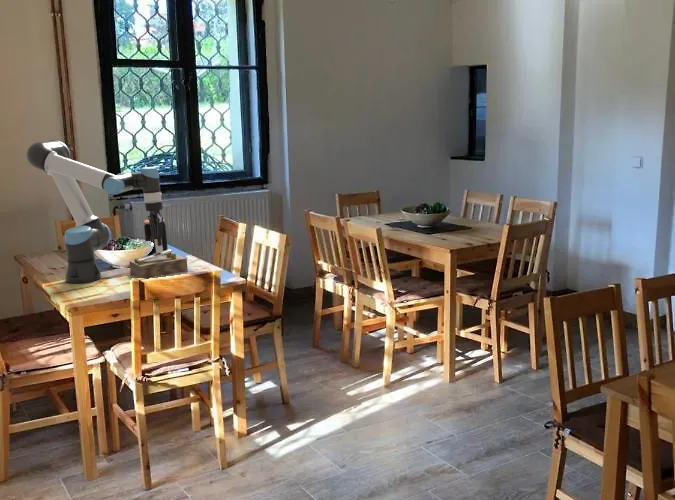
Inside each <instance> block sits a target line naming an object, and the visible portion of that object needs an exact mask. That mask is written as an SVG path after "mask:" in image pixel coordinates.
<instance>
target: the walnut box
mask: <svg viewBox="0 0 675 500" xmlns="http://www.w3.org/2000/svg"><path fill="white" fill-rule="evenodd" d="M137 259H140V258H139V257H138V258H134V259H132V260H129V269H130V270H129V271H130V275H132V276H135V277H136V278H138V277H140V278H147V279H151V278H150V277H152V278H156V277H155V276H158V277H162V276H161V275H163V276H167V275H174V274H179V273H185V272H188V259H187V258H186V257H184V256H182V255H179V254H177V253H175V252H174V253H173V252H170V253H168V254H167V255H163V256H159V257H156V258H153V259H150V260H147V261H144V262H143V260H139V261H138V262H136V260H137ZM140 278H139V279H140Z"/></svg>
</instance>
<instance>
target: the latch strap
mask: <svg viewBox="0 0 675 500" xmlns="http://www.w3.org/2000/svg"><path fill="white" fill-rule="evenodd" d="M170 252H171V253H173V252H174V250H173V249H171V248H169V249H168V250H166V251H163V252H160V253H154V254H153V255H151V256H148V255H147V256H145V257H142V258H139V259H137V260H136V262H138V261H139V260H143V262H144V261H147V260H150V259H153V258H156V257H159V256H162V255H165V254H168V253H170Z"/></svg>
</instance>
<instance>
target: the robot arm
mask: <svg viewBox="0 0 675 500" xmlns="http://www.w3.org/2000/svg"><path fill="white" fill-rule="evenodd" d="M25 156H26V160H27V162H28V163H29V165H31V166H32V167H34V168H35V169H37V170H41V171H43V172H45V173H46V175H48V176H51V177H52V179H53V181H54V183H55V185H56V187H57V189H58V191H59V193H60V194H61V196H62V198H63V200H64V203H65V205H66V206H67V208H68V211H69V213H70V214H71V216H72V218H73V220H74V222H75V226H72V227H71V228H68V229H66V231H64V238H63V239H64V240H63V241H64V244H65V252H66V254H65V255H66V259H67V260H66V261H67V266H66V270H65V276H64V278H65V283H67V284H86V283H92V282H95V281H98V280H100V279H101V278H102V275H101V271H100V269H99V266H98V264H97V262H96V258H95V252H96V251H99V250H101V249H104V248H105V247H106V246H108V245H109V243H110V242H111V239H112V232H111V229H110V228H109V226H108V225H107V224H105V223H103V222H102V221H101V219H100V218H99V216H96V215H94V213H93V211H92V209H91V206H90V205H89V203H88V202H87V199H86V197H85V196H84V193H83V192H82V189H81V187H80V186H79V183H78V181H79V182H83V183H85V184H88V185H91V186H94V187H96V188H99V189H102V190H104V191H105V192H106V193H107V194H108V195H112V196H113V195H114V196H115V195H119V194H122V193H125V192H128V191H132V190H142V191H143V200H144V202H145V203H144V207H145V211H146V212H149V215H147V220H149V223H150V228H151V233H152V236H154V239H155V247H156V253H160V252H163V247H162V239H161V238H162V237H163V219H164V217H162V215H161V211H162V210H163V201H162V195H163V193H162V192H161V185H160V175H159V169H158V168H157V167H156V166H148V167H141V168H140V171H139V172H122V173H117V174H116V175H115V174H113V173H111V172H109V171H108V172H107V171H105V170H102V169H99V168H96V167H93V166H91V165H89V164H84V163H83V162H80V161H76V160H74V159H71V158H70V157H71V152H70V149H69V147H68V146H67V145H66V144H65V143H64V142H63V141H61V140H57V139H55V140H54V139H49V140H45V141H37V142H34V143H32V144H30V145H29V147H28V148H27V150H26V155H25Z"/></svg>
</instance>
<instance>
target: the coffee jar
mask: <svg viewBox="0 0 675 500" xmlns="http://www.w3.org/2000/svg"><path fill="white" fill-rule="evenodd" d="M143 224H144V226H143V230H144V241H145V242H146V241H151V242H153V243H154V247H153V249H152V251H151V252H150V253H149V254H148V255H147V257H148V256H151V255H153V254H154V253H156V247H155V239H154V236H152V233H151V228H150V223H149V219H145V220H143ZM161 239H162V247H163V251H166V250H169V249H168V237H167V228H166V220H165V219H164V218H163V237H162V238H161ZM165 255H167V254H165ZM162 256H163V255H162Z"/></svg>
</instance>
